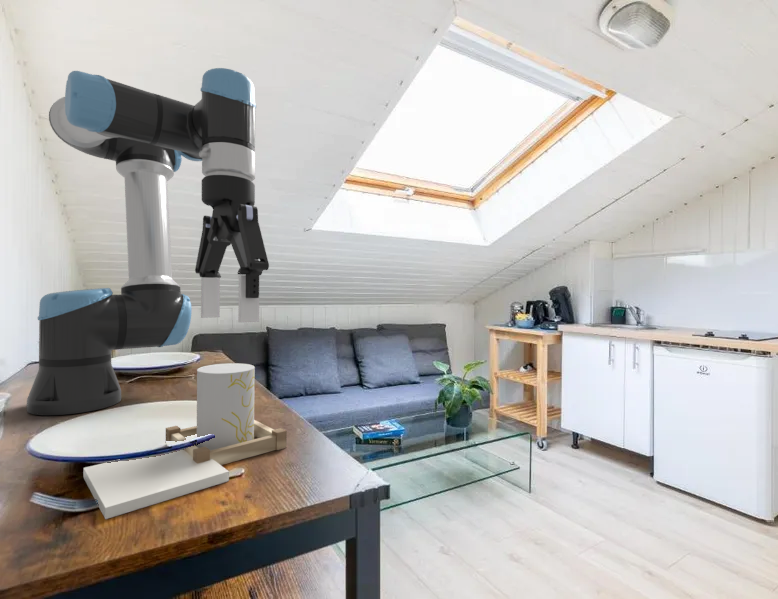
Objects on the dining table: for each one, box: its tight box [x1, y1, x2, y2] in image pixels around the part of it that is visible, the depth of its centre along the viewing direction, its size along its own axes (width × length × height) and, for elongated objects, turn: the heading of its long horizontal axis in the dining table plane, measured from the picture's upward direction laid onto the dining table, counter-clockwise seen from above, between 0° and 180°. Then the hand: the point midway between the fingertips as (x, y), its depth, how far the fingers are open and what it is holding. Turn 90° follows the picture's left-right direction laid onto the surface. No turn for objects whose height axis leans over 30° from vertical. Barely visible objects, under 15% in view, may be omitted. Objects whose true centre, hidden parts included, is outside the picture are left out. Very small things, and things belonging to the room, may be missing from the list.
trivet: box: [82, 450, 230, 520], centre depth 52 cm, size 13×13×1 cm
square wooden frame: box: [165, 419, 288, 466], centre depth 64 cm, size 13×13×3 cm
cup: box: [196, 362, 256, 450], centre depth 64 cm, size 8×8×12 cm
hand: (228, 319), depth 64 cm, fingers open, 13 cm apart
